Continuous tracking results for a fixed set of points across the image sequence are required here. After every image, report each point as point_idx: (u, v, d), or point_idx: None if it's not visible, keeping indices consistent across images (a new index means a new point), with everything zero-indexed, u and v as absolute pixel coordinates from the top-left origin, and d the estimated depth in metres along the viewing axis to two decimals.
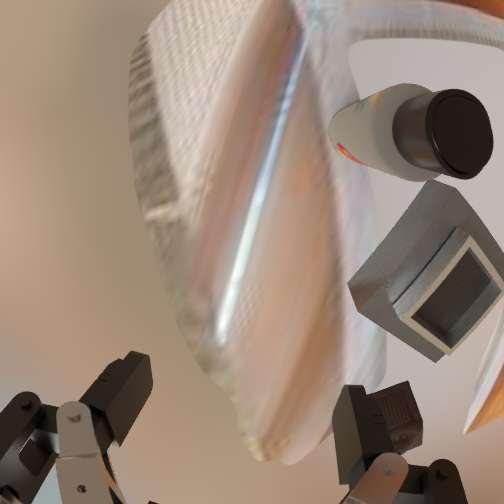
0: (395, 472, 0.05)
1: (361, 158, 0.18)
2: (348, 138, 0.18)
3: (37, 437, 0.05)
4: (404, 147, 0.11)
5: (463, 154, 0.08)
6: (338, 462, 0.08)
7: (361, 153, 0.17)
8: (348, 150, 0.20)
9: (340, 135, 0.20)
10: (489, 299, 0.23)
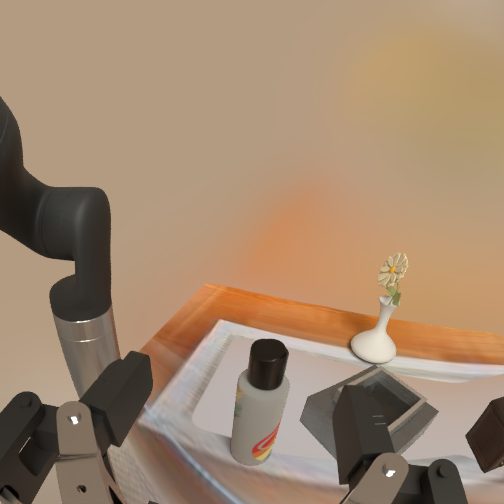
0: (395, 472, 0.05)
1: (267, 427, 0.27)
2: (252, 430, 0.27)
3: (37, 437, 0.05)
4: (268, 382, 0.26)
5: (277, 351, 0.26)
6: (338, 462, 0.08)
7: (264, 422, 0.27)
8: (259, 439, 0.28)
9: (248, 442, 0.28)
10: (387, 378, 0.38)
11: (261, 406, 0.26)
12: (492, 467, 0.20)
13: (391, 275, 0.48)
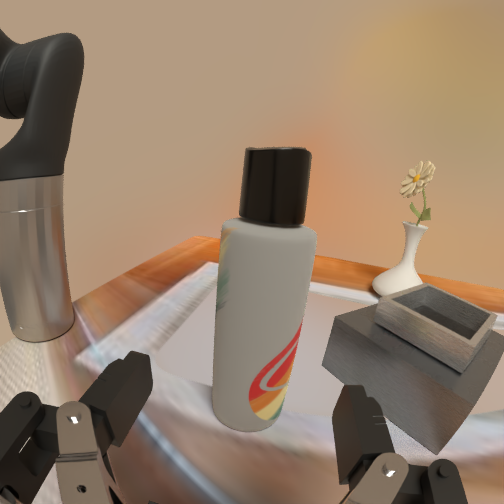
0: (395, 472, 0.05)
1: (279, 326, 0.15)
2: (249, 335, 0.16)
3: (37, 437, 0.05)
4: (278, 201, 0.14)
5: None
6: (338, 462, 0.08)
7: (273, 308, 0.15)
8: (263, 362, 0.16)
9: (241, 370, 0.16)
10: (438, 296, 0.27)
11: (267, 257, 0.14)
12: None
13: (417, 182, 0.37)
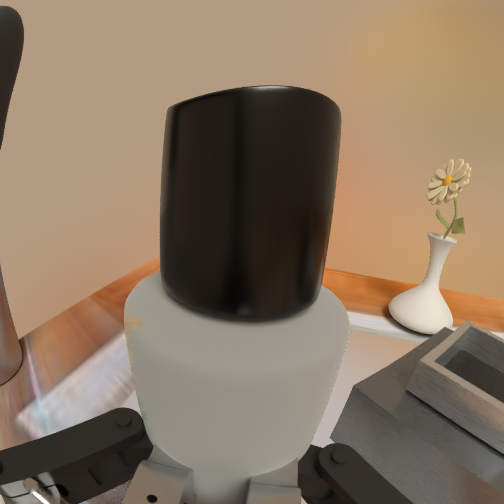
0: None
1: None
2: (203, 495, 0.06)
3: (123, 454, 0.06)
4: (248, 256, 0.05)
5: None
6: None
7: (242, 476, 0.05)
8: None
9: None
10: (482, 340, 0.17)
11: (217, 412, 0.05)
12: None
13: (449, 186, 0.28)
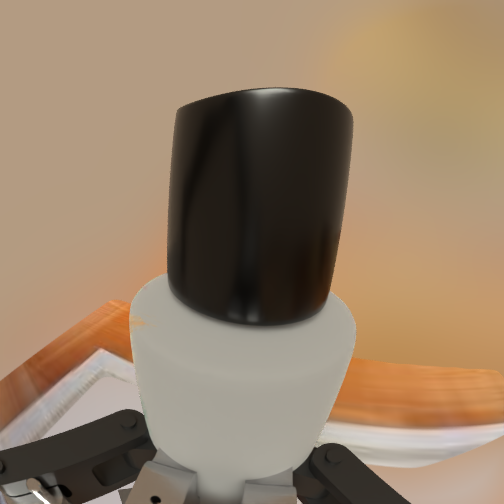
0: None
1: None
2: (199, 496, 0.06)
3: (127, 456, 0.06)
4: (251, 261, 0.05)
5: None
6: None
7: (238, 480, 0.05)
8: None
9: None
10: None
11: (213, 416, 0.04)
12: None
13: None
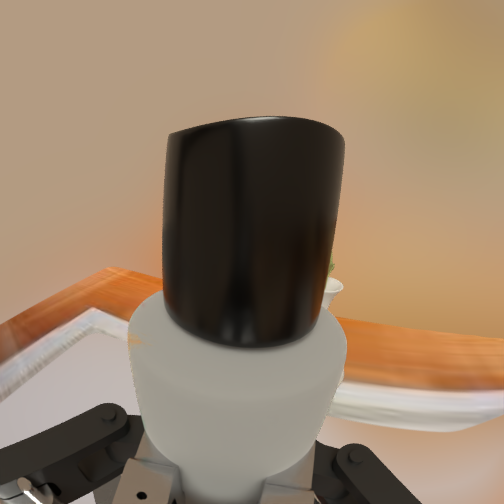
0: None
1: (247, 501, 0.06)
2: (195, 501, 0.06)
3: (110, 450, 0.06)
4: (238, 289, 0.05)
5: None
6: None
7: (231, 488, 0.05)
8: None
9: None
10: None
11: (205, 430, 0.05)
12: None
13: None
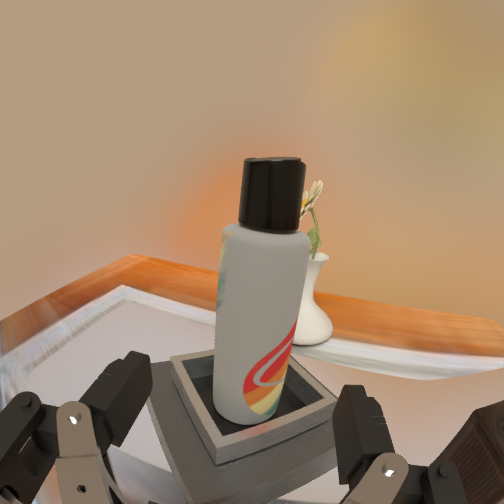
0: (395, 472, 0.05)
1: (270, 325, 0.17)
2: (243, 332, 0.17)
3: (37, 437, 0.05)
4: (271, 209, 0.16)
5: (287, 158, 0.16)
6: (338, 462, 0.08)
7: (264, 308, 0.16)
8: (256, 358, 0.17)
9: (236, 364, 0.18)
10: None
11: (258, 261, 0.15)
12: None
13: None
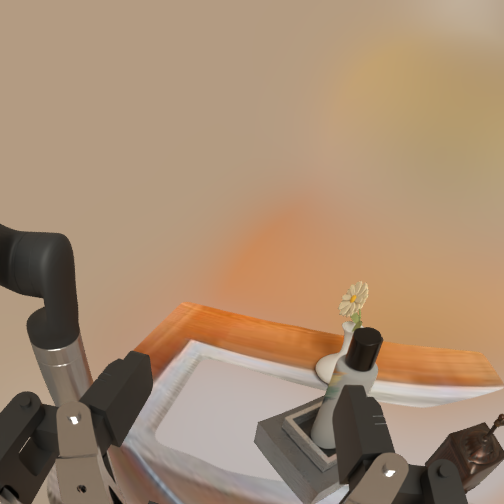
0: (395, 472, 0.05)
1: None
2: None
3: (37, 437, 0.05)
4: (366, 364, 0.29)
5: (375, 337, 0.29)
6: (338, 462, 0.08)
7: None
8: None
9: None
10: None
11: None
12: None
13: (351, 305, 0.50)
